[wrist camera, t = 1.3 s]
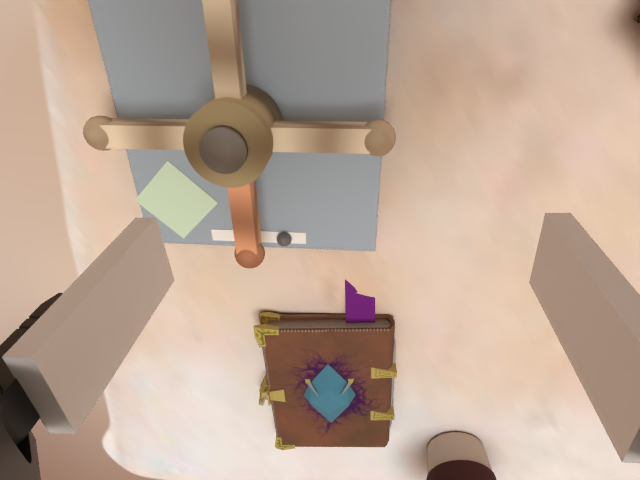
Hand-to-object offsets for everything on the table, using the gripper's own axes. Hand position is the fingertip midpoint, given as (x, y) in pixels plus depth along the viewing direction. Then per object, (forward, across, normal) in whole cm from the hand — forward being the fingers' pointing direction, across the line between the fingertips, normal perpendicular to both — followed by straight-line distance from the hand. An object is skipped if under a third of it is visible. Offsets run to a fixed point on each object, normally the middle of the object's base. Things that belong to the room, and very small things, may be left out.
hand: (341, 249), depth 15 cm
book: (+24, -5, -31) cm, 39 cm away
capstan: (+22, -9, -2) cm, 24 cm away
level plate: (+23, -9, -2) cm, 25 cm away
